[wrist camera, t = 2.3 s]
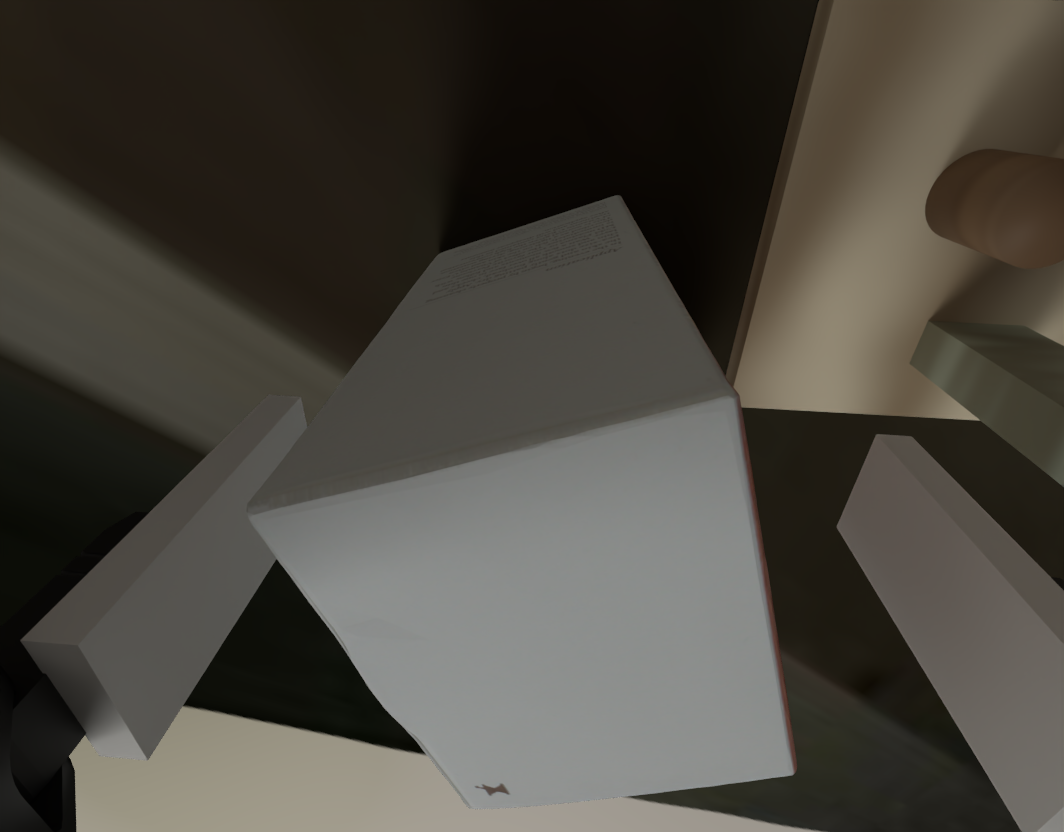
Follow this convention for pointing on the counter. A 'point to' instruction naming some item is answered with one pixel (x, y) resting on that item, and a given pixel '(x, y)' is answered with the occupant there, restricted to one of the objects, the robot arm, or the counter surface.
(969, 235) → the peg stand
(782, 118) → the counter surface
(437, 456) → the small box
